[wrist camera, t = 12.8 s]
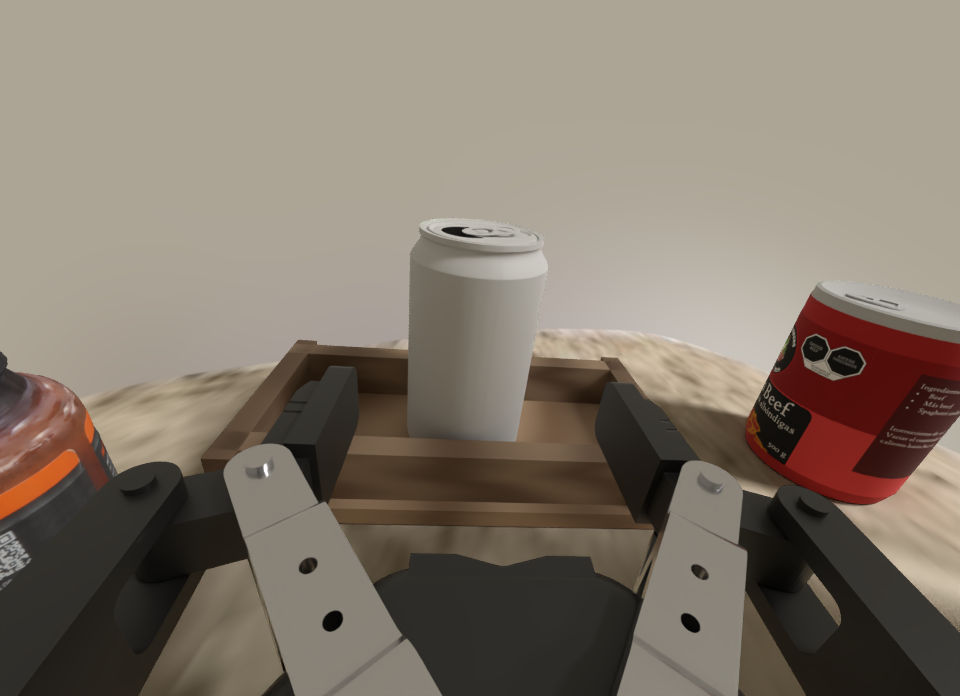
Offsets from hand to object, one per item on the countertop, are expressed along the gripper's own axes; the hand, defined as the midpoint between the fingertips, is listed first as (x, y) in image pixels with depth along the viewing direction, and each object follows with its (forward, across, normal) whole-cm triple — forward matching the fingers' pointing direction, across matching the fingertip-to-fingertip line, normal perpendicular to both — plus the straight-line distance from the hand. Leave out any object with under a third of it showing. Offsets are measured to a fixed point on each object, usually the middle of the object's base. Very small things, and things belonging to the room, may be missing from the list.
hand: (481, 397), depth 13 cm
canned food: (+8, -23, +9) cm, 26 cm away
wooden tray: (+8, 0, +9) cm, 12 cm away
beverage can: (+8, 0, +8) cm, 11 cm away
